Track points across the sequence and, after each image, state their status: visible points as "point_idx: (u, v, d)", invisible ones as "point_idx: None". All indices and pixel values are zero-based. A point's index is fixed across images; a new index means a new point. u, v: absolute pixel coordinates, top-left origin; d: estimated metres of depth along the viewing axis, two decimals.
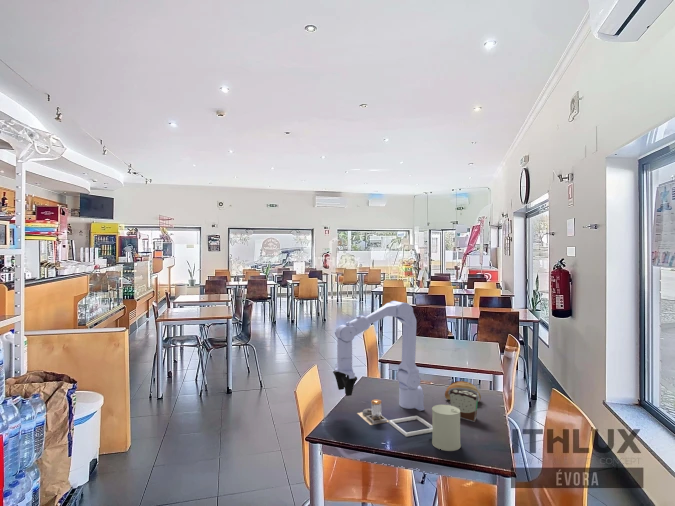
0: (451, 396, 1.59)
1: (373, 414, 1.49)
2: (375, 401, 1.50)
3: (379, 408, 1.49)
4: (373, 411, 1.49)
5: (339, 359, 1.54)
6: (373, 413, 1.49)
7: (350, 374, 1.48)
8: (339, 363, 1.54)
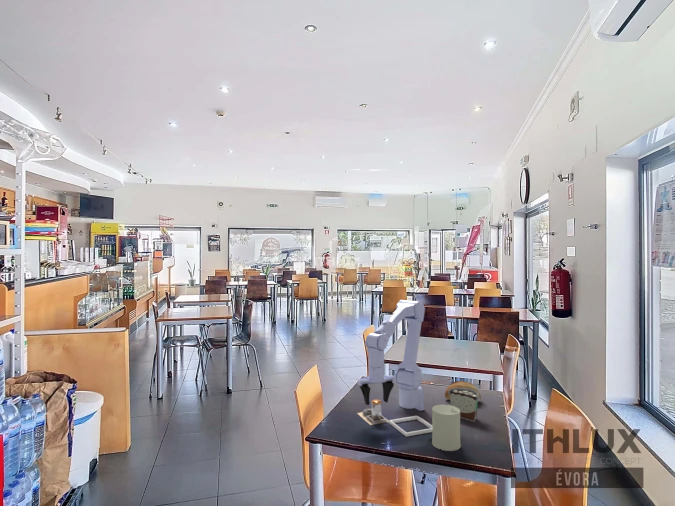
0: (451, 396, 1.59)
1: (373, 414, 1.49)
2: (375, 401, 1.50)
3: (379, 408, 1.49)
4: (373, 411, 1.49)
5: None
6: (373, 413, 1.49)
7: None
8: None
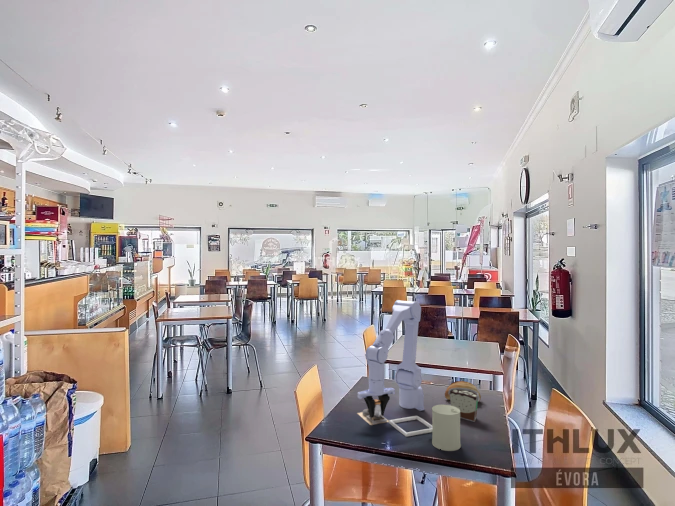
0: (451, 396, 1.59)
1: None
2: (375, 401, 1.50)
3: (379, 408, 1.49)
4: None
5: None
6: None
7: (358, 393, 1.48)
8: None
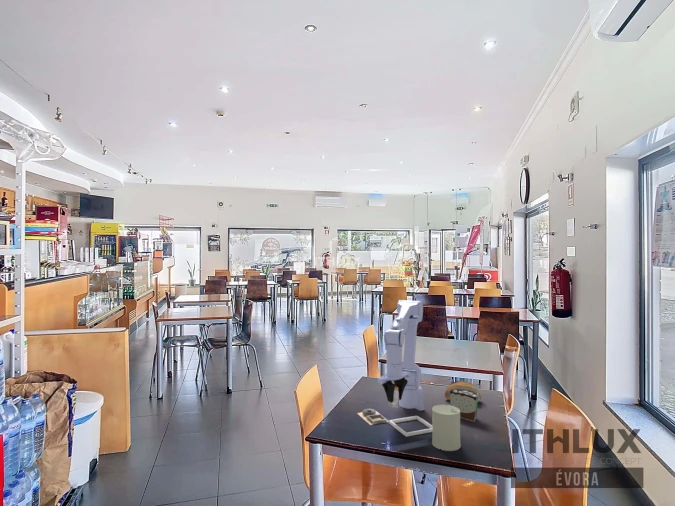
0: (451, 396, 1.59)
1: None
2: None
3: (398, 393, 1.46)
4: None
5: None
6: None
7: (378, 379, 1.43)
8: None
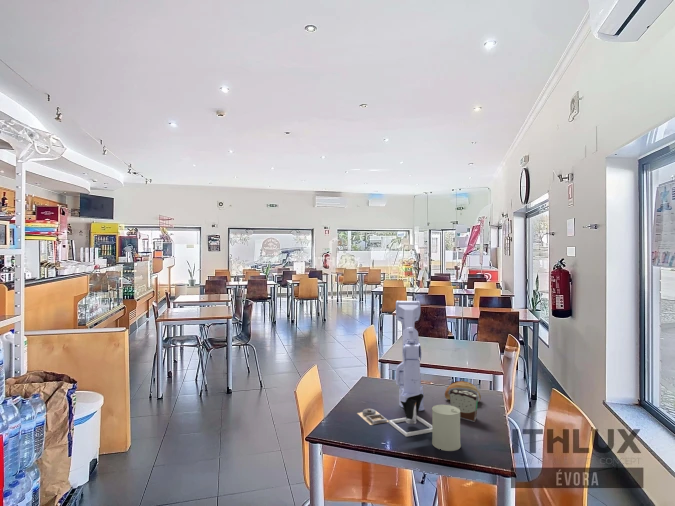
0: (451, 396, 1.59)
1: None
2: None
3: None
4: None
5: None
6: None
7: (400, 396, 1.39)
8: None
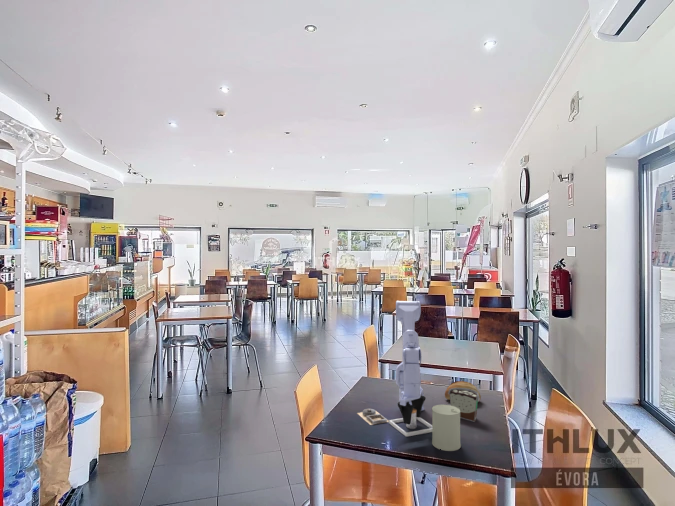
0: (451, 396, 1.59)
1: (411, 424, 1.42)
2: None
3: None
4: (411, 421, 1.42)
5: None
6: (411, 423, 1.42)
7: (400, 400, 1.39)
8: None
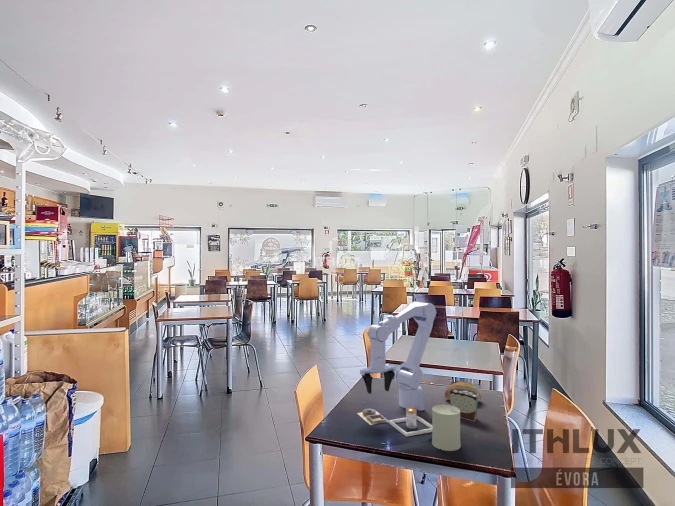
0: (451, 396, 1.59)
1: (411, 424, 1.42)
2: (411, 410, 1.44)
3: None
4: (411, 421, 1.42)
5: None
6: (411, 423, 1.42)
7: (360, 370, 1.55)
8: None
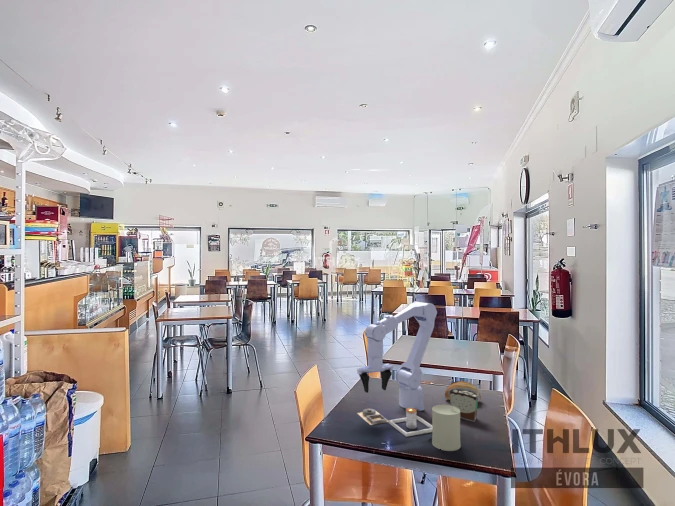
0: (451, 396, 1.59)
1: (411, 424, 1.42)
2: (411, 410, 1.44)
3: None
4: (411, 421, 1.42)
5: None
6: (411, 423, 1.42)
7: (357, 369, 1.56)
8: None
